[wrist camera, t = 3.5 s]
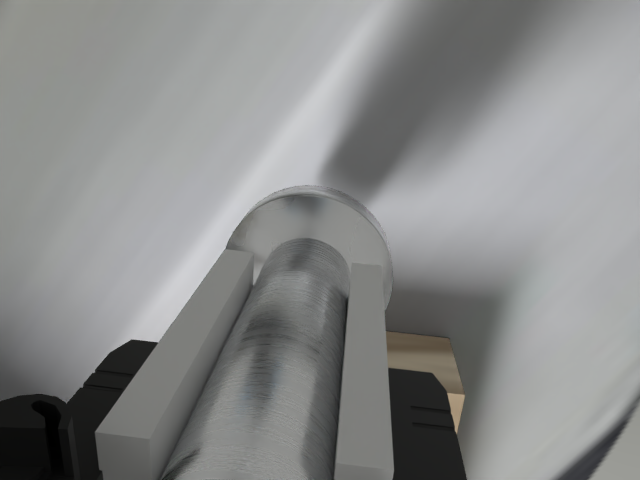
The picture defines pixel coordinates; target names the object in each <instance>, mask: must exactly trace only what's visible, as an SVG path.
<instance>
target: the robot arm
mask: <svg viewBox="0 0 640 480" xmlns="http://www.w3.org/2000/svg"><path fill="white" fill-rule="evenodd" d="M253 270H254V252H246V251H237V250H227V249H225V250H224V251H223V253H222V254H221V256H220V257H219V258H218V260H217V261H216V263H215V264H214V265H213V267H212V268H211V270H210V271H209V272H208V274H207V275H206V277H205V278H204V279H203V281H202V282H201V284H200V285H199V287H198V288H197V289H196V291H195V292H194V294H193V295H192V296H191V298H190V299H189V301H188V302H187V303H186V305H185V306H184V308H183V309H182V310H181V312H180V313H179V315H178V316H177V317H176V319H175V320H174V322H173V323H172V324H171V326H170V327H169V329H168V330H167V331H166V333H165V334H164V336H163V337H162V338H161V340H160V341H159V343H157V342H148V341H140V340H130V341H129V342H127V343H125V344H124V345H122V346H120V347H119V348H117V349H115V350H114V351H112V352H110V353H109V354H108V356H107V357H106V358H105V359H104V360H103V361H102V363H101V364H100V365H99V366H98V367H97V369H96V370H95V373H92V374H91V376H90V377H89V378H88V379H87V380H86V381H85V383H84V384H83V388H80V389H79V390H78V391H77V392H76V393H75V394H74V396H73V397H72V398H71V399H70V400H69V402H68V403H67V404H66V403H65V402H63V401H62V400H60V399H59V398H57V397H54V396H48V395H43V394H34V395H22V396H17V397H13V398H10V399H7V400H3V401H0V480H160V478H161V476H162V474H163V472H164V470H165V468H166V465H167V463H168V461H169V459H170V457H171V455H172V453H173V451H174V449H175V447H176V445H177V443H178V441H179V439H180V437H181V434H182V432H183V430H184V428H185V426H186V424H187V422H188V420H189V418H190V416H191V414H192V412H193V410H194V408H195V406H196V403H197V401H198V399H199V397H200V395H201V393H202V391H203V389H204V387H205V385H206V383H207V381H208V379H209V377H210V375H211V372H212V370H213V368H214V366H215V364H216V362H217V360H218V358H219V356H220V354H221V352H222V350H223V348H224V346H225V344H226V341H227V339H228V337H229V335H230V333H231V331H232V329H233V327H234V325H235V323H236V321H237V319H238V317H239V315H240V313H241V310H242V308H243V306H244V304H245V302H246V300H247V298H248V296H249V294H250V292H251V290H252V288H253ZM333 480H467V478H466V474H465V469H464V465H463V460H462V456H461V452H460V447H459V443H458V438H457V434H456V432H455V425H454V421H453V416H452V415H451V407H450V403H449V399H448V394H447V391H446V389H445V388H444V387H443V385H442V384H441V383H440V382H439V380H438V379H437V378H436V377H435V375H434V374H433V373H430V372H422V371H413V370H404V369H396V368H388V361H387V344H386V327H385V310H384V293H383V276H382V266H380V265H371V264H361V263H352V267H351V277H350V286H349V295H348V307H347V319H346V331H345V343H344V355H343V367H342V379H341V392H340V404H339V416H338V428H337V440H336V452H335V464H334V476H333Z"/></svg>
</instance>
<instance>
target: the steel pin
mask: <svg viewBox="0 0 640 480" xmlns="http://www.w3.org/2000/svg"><path fill="white" fill-rule="evenodd" d="M226 249H227V250H237V251H246V252H254V270H253V288H252V290H251V292H250V294H249V296H248V298H247V300H246V302H245V304H244V306H243V308H242V310H241V313H240V315H239V317H238V319H237V321H236V323H235V325H234V327H233V329H232V331H231V333H230V335H229V337H228V339H227V341H226V344H225V346H224V348H223V350H222V352H221V354H220V356H219V358H218V360H217V362H216V364H215V366H214V368H213V370H212V372H211V375H210V377H209V379H208V381H207V383H206V385H205V387H204V389H203V391H202V393H201V395H200V397H199V399H198V401H197V403H196V406H195V408H194V410H193V412H192V414H191V416H190V418H189V420H188V422H187V424H186V426H185V428H184V430H183V432H182V434H181V437H180V439H179V441H178V443H177V445H176V447H175V449H174V451H173V453H172V455H171V457H170V459H169V461H168V463H167V465H166V468H165V470H164V472H163V474H162V476H161V478H160V480H333V476H334V464H335V452H336V440H337V428H338V416H339V404H340V392H341V379H342V367H343V355H344V343H345V331H346V319H347V307H348V295H349V286H350V277H351V267H352V263H361V264H371V265H380V266H382V276H383V293H384V310H386V309H387V306H388V303H389V301H390V297H391V293H392V287H393V271H392V261H391V252H390V247H389V243H388V240H387V237H386V235H385V232H384V230H383V229H382V227H381V225H380V223H379V222H378V221H377V219H376V218H375V217H374V215H373V214H372V213H371V212H370V211H369V210H368V209H367V208H366V207H365V206H364V205H362V204H361V203H360V202H358V201H357V200H355V199H354V198H352V197H350V196H349V195H347V194H344V193H342V192H340V191H337V190H334V189H331V188H327V187H321V186H308V185H305V186H294V187H290V188H286V189H282V190H280V191H277V192H274V193H272V194H271V195H269V196H267V197H265V198H264V199H262V200H261V201H260V202H258V203H257V204H256V205H255V206H254V207H253V208H252V209H251V210H250V211H249V212H248V213H247V214H246V216H245V217H244V218H243V220H242V221H241V222H240V224H239V225H238V226H237V228H236V229H235V231H234V232H233V234H232V236H231V237H230V239H229V241H228V243H227V246H226Z"/></svg>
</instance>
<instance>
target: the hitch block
mask: <svg viewBox="0 0 640 480" xmlns="http://www.w3.org/2000/svg"><path fill="white" fill-rule="evenodd" d="M386 344H387V361H388V368H396V369H404V370H413V371H422V372H430V373H433V374H434V375H435V377H436V378H437V379H438V380H439V382H440V383H441V384H442V385H443V387H444V388H445V389H446V391H447V394H448V399H449V403H450V407H451V415H452V416H453V421H454V425H455V432H456V434H457V431H458V426H459V421H460V417H461V412H462V407H463V403H464V398H465V393H464V389H463V386H462V382H461V379H460V375H459V372H458V368H457V365H456V361H455V358H454V354H453V351H452V347H451V344H450V340H449V338H442V337H433V336H424V335H415V334H406V333H398V332H389V331H386Z"/></svg>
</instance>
